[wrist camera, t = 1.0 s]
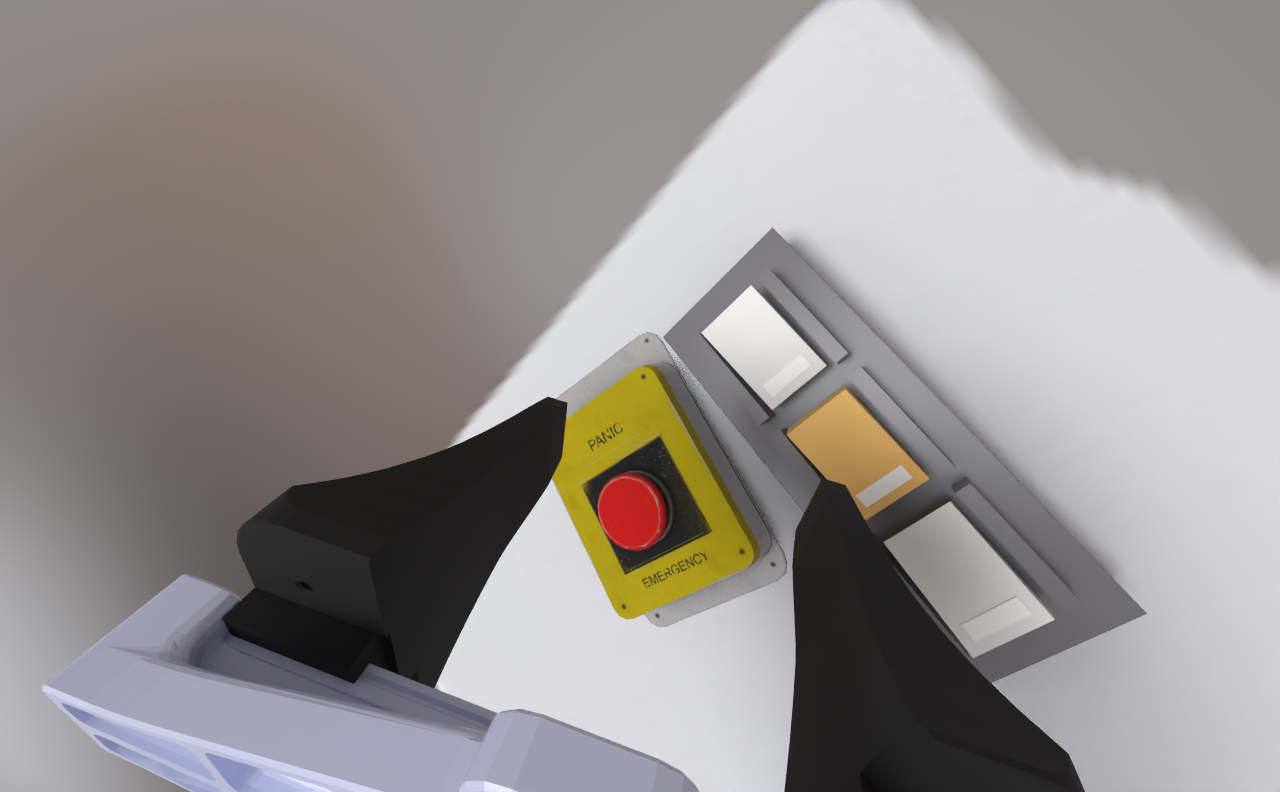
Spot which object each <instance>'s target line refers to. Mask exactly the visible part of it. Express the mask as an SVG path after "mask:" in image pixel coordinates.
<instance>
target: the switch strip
mask: <svg viewBox="0 0 1280 792" xmlns="http://www.w3.org/2000/svg"><path fill="white" fill-rule="evenodd" d="M751 285H754V286H755V287H756V288H757V289H758V290H759V291H760V292H761V293H762V294H763V296H764V297H765V298H766V299H767V300H768V301H769V302H770V303H771V304H772V305H773V306H774V307H775V308H776V309H777V310H778V311H779V312H780V314H781V315H782V316H783V317H784V318H785V319H786V320H787V321H788V322H789V323H790V324H791V325H792V326H793V327H794V328H795V329H796V331H797V332H798V333H799V334H800V335H801V336H802V337H803V338H804V339H805V340H806V341H807V342H808V343H809V344H810V345H811V346H812V347H813V349H814V350H815V351H816V352H817V353H818V354H819V355H820V356H821V357H822V358H823V359H824V360H825V361H826V362H827V366H826V367H824V368H823V369H822V370H821V371H819V372H818V373H817V374H816V375H815V376H813V377H812V378H811V379H810V380H808V381H807V382H806V383H805V384H804V385H802V386H801V387H800V388H799V389H797V390H796V391H795V392H794V393H793V394H791V395H790V396H789V397H788V398H786V399H785V400H784V401H783V402H782V403H780V404H779V405H778V406H777V407H775V408H774V409H773V410H772V409H771V408H770V407H769V406H768V405H767V404H766V403H765V402H764V401H763V399H762V398H761V397H760V396H759V395H758V394H757V393H756V392H755V391H754V390H753V389H752V387H751V386H750V385H749V384H748V383H747V382H746V381H745V380H744V379H743V378H742V377H741V376H740V374H739V373H738V372H737V371H736V370H735V369H734V368H733V367H732V366H731V365H730V364H729V362H728V361H727V360H726V359H725V358H724V357H723V356H722V355H721V354H720V353H719V352H718V350H717V349H716V348H715V347H714V346H713V345H712V344H711V343H710V342H709V341H708V340H707V338H706V337H705V336H704V335H703V334H702V332H703V331H704V330H705V329H706V328H707V327H708V326H709V325H710V324H711V323H712V322H713V321H714V320H715V319H716V318H717V317H718V316H719V315H720V314H721V313H722V312H724V311H725V310H726V309H727V308H728V307H729V306H730V305H731V304H732V303H733V302H734V301H735V300H736V299H737V298H738V297H739V296H740V295H741V294H742V293H743V292H744V291H745V290H746V289H747V288H748V287H749V286H751ZM664 339H665V340H666V341H667V342H668V344H669V345H670V346H671V347H672V349H673V350H674V351H675V352H676V354H677V355H678V356H679V357H680V359H681V360H682V361H683V362H684V364H685V365H686V366H687V367H688V369H689V370H690V371H691V372H692V373H693V375H694V376H695V377H696V378H697V380H698V381H699V382H700V383H701V385H702V386H703V387H704V388H705V390H706V391H707V392H708V393H709V395H710V396H711V397H712V398H713V400H714V401H715V402H716V403H717V405H718V406H719V407H720V408H721V410H722V411H723V412H724V413H725V415H726V416H727V417H728V418H729V420H730V421H731V422H732V423H733V425H734V426H735V427H736V428H737V430H738V431H739V432H740V433H741V435H742V436H743V437H744V438H745V440H746V441H747V442H748V443H749V444H750V446H751V447H752V448H753V449H754V451H755V452H756V453H757V454H758V456H759V457H760V458H761V459H762V461H763V462H764V463H765V464H766V466H767V467H768V468H769V469H770V471H771V472H772V473H773V474H774V476H775V477H776V478H777V479H778V481H779V482H780V483H781V484H782V486H783V487H784V488H785V489H786V491H787V492H788V493H789V494H790V496H791V497H792V498H793V499H794V501H795V502H796V503H797V504H798V506H799V507H800V508H801V509H802V510H803V512H804V513H805V511H806V509H807V507H808V505H809V503H810V501H811V499H812V497H813V495H814V493H815V491H816V489H817V487H818V485H819V483H820V481H821V479H822V478H824V479H827V478H826V477H825V476H824V475H823V474H822V473H821V472H820V471H819V470H818V469H817V468H816V466H815V465H814V464H813V463H812V462H811V461H810V460H809V459H808V458H807V457H806V456H805V454H804V453H803V452H802V451H801V450H800V449H799V448H798V447H797V446H796V445H795V444H794V442H793V441H792V440H791V439H790V438H789V437H788V436H787V431H788V428H790V427H791V426H792V425H793V424H795V423H796V422H797V421H798V420H800V419H801V418H802V417H804V416H805V415H806V414H807V413H809V412H810V411H811V410H812V409H814V408H815V407H816V406H818V405H819V404H820V403H821V402H823V401H824V400H825V399H826V398H828V397H829V396H830V395H832V394H833V393H834V392H835V391H837V390H838V389H839V388H840V387H842V386H843V385H845V386H846V387H847V388H848V389H849V390H850V391H851V392H852V393H853V394H854V395H855V397H856V398H857V399H858V400H859V401H860V402H861V403H862V404H863V405H864V406H865V407H866V408H867V409H868V410H869V411H870V412H871V414H872V415H873V416H874V417H875V418H876V419H877V420H878V421H879V422H880V423H881V424H882V425H883V426H884V427H885V428H886V429H887V431H888V432H889V433H890V434H891V435H892V436H893V437H894V438H895V439H896V440H897V441H898V442H899V443H900V444H901V445H902V446H903V447H904V449H905V450H906V451H907V452H908V453H909V454H910V455H911V456H912V457H913V458H914V459H915V460H916V461H917V462H918V463H919V464H920V466H921V467H922V468H923V469H924V470H925V471H926V473H927V475H928V477H929V478H930V479H929V480H927V481H926V482H924V483H923V484H921V485H919V486H918V487H916V488H915V489H913V490H912V491H910V492H909V493H907V494H906V495H904V496H902V497H901V498H899V499H898V500H896V501H895V502H893V503H892V504H890V505H888V506H887V507H885V508H884V509H882V510H881V511H879V512H878V513H876V514H875V515H873V516H871V517H870V518H868V519H867V520H865V521H866V523H867V525H868V526H869V528H870V530H871V531H872V533H873V535H874V536H875V538H876V540H877V541H878V543H879V545H880V546H881V548H882V550H883V551H884V553H885V554H886V556H887V558H888V559H889V561H890V562H891V564H892V565H893V567H894V568H895V570H896V571H897V573H898V574H899V576H900V577H901V578H902V580H903V581H904V583H905V584H906V586H907V587H908V588H909V590H910V591H911V593H912V594H913V595H914V597H915V598H916V599H917V600H918V602H919V603H920V604H921V606H922V607H923V608H924V609H925V611H926V612H927V613H928V614H929V616H930V617H931V618H932V619H933V621H934V622H935V623H936V624H937V626H938V627H939V628H940V629H941V630H942V631H943V633H944V634H945V635H946V636H947V637H948V638H949V639H950V641H951V642H952V643H953V644H954V645H955V646H956V647H957V648H958V649H959V650H960V652H961V653H962V654H963V655H964V656H965V657H966V658H967V659H968V660H969V661H970V662H971V664H972V665H973V666H974V667H975V668H976V669H977V670H978V671H979V672H980V673H981V674H982V675H983V676H984V677H985V678H986V679H987V680H988V681H989V682H990V683H992V682H994V681H996V680H999V679H1001V678H1003V677H1005V676H1008V675H1010V674H1012V673H1014V672H1017V671H1019V670H1021V669H1023V668H1026V667H1028V666H1030V665H1032V664H1035V663H1037V662H1039V661H1041V660H1044V659H1046V658H1048V657H1050V656H1053V655H1055V654H1057V653H1059V652H1062V651H1064V650H1066V649H1068V648H1071V647H1073V646H1075V645H1077V644H1080V643H1082V642H1084V641H1086V640H1089V639H1091V638H1093V637H1095V636H1098V635H1100V634H1102V633H1104V632H1107V631H1109V630H1111V629H1113V628H1116V627H1118V626H1120V625H1122V624H1125V623H1127V622H1129V621H1131V620H1133V619H1136V618H1138V617H1140V616H1142V615H1145V614H1147V613H1146V612H1145V611H1144V610H1143V609H1142V608H1141V607H1140V606H1139V605H1138V604H1137V603H1136V602H1135V601H1134V600H1133V599H1132V598H1131V597H1130V596H1129V595H1128V594H1127V592H1126V591H1125V590H1124V589H1123V588H1122V587H1121V586H1120V585H1119V584H1118V583H1117V582H1116V581H1115V580H1114V579H1113V578H1112V577H1111V576H1110V575H1109V574H1108V573H1107V572H1106V571H1105V570H1104V569H1103V568H1102V567H1101V566H1100V565H1099V564H1098V563H1097V562H1096V561H1095V560H1094V558H1093V557H1092V556H1091V555H1090V554H1089V553H1088V552H1087V551H1086V550H1085V549H1084V548H1083V547H1082V546H1081V545H1080V544H1079V543H1078V542H1077V541H1076V540H1075V539H1074V538H1073V537H1072V536H1071V535H1070V534H1069V533H1068V532H1067V531H1066V530H1065V529H1064V528H1063V527H1062V526H1061V524H1060V523H1059V522H1058V521H1057V520H1056V519H1055V518H1054V517H1053V516H1052V515H1051V514H1050V513H1049V512H1048V511H1047V510H1046V509H1045V508H1044V507H1043V506H1042V505H1041V504H1040V503H1039V502H1038V501H1037V500H1036V499H1035V498H1034V497H1033V496H1032V495H1031V494H1030V493H1029V492H1028V490H1027V489H1026V488H1025V487H1024V486H1023V485H1022V484H1021V483H1020V482H1019V481H1018V480H1017V479H1016V478H1015V477H1014V476H1013V475H1012V474H1011V473H1010V472H1009V471H1008V470H1007V469H1006V468H1005V467H1004V466H1003V465H1002V464H1001V463H1000V462H999V461H998V460H997V459H996V457H995V456H994V455H993V454H992V453H991V452H990V451H989V450H988V449H987V448H986V447H985V446H984V445H983V444H982V443H981V442H980V441H979V440H978V439H977V438H976V437H975V436H974V435H973V434H972V433H971V432H970V431H969V430H968V429H967V428H966V427H965V426H964V425H963V423H962V422H961V421H960V420H959V419H958V418H957V417H956V416H955V415H954V414H953V413H952V412H951V411H950V410H949V409H948V408H947V407H946V406H945V405H944V404H943V403H942V402H941V401H940V400H939V399H938V398H937V397H936V396H935V395H934V394H933V393H932V392H931V391H930V389H929V388H928V387H927V386H926V385H925V384H924V383H923V382H922V381H921V380H920V379H919V378H918V377H917V376H916V375H915V374H914V373H913V372H912V371H911V370H910V369H909V368H908V367H907V366H906V365H905V364H904V363H903V362H902V361H901V360H900V359H899V358H898V357H897V355H896V354H895V353H894V352H893V351H892V350H891V349H890V348H889V347H888V346H887V345H886V344H885V343H884V342H883V341H882V340H881V339H880V338H879V337H878V336H877V335H876V334H875V333H874V332H873V331H872V330H871V329H870V328H869V327H868V326H867V325H866V324H865V323H864V321H863V320H862V319H861V318H860V317H859V316H858V315H857V314H856V313H855V312H854V311H853V310H852V309H851V308H850V307H849V306H848V305H847V304H846V303H845V302H844V301H843V300H842V299H841V298H840V297H839V296H838V295H837V294H836V293H835V292H834V291H833V290H832V289H831V287H830V286H829V285H828V284H827V283H826V282H825V281H824V280H823V279H822V278H821V277H820V276H819V275H818V274H817V273H816V272H815V271H814V270H813V269H812V268H811V267H810V266H809V265H808V264H807V263H806V262H805V261H804V260H803V259H802V258H801V257H800V256H799V255H798V253H797V252H796V251H795V250H794V249H793V248H792V247H791V246H790V245H789V244H788V243H787V242H786V241H785V240H784V239H783V238H782V237H781V236H780V235H779V234H778V233H777V232H776V231H775V230H774V229H773V228H772V229H771V230H770V231H769V232H768V233H767V234H766V235H765V236H764V237H763V238H762V239H761V240H760V241H759V242H758V243H757V244H756V245H755V246H754V247H753V248H752V249H751V250H750V251H749V252H748V253H747V254H746V255H745V256H744V257H743V258H742V259H741V260H740V261H739V262H738V263H737V264H736V265H735V266H734V267H733V268H732V269H731V270H730V271H729V272H728V273H727V274H726V275H725V276H724V277H723V278H722V279H721V280H720V281H719V282H718V283H717V284H716V285H715V286H714V287H713V288H712V289H711V290H710V291H709V292H708V293H707V294H706V295H705V296H704V297H703V298H702V299H701V300H700V301H699V302H698V303H697V304H696V305H695V306H694V307H693V308H692V309H691V310H690V311H689V312H688V313H687V314H686V315H685V316H684V317H683V318H682V319H681V320H680V321H679V322H678V323H677V324H676V325H675V326H674V327H673V328H672V329H671V330H670V331H669V332H668V333H667V334H666V335H665V336H664ZM952 500H953V502H954V503H955V504H956V505H957V506H958V507H959V508H960V510H961V511H962V512H963V513H964V514H965V515H966V516H967V517H968V519H969V520H970V521H971V522H972V523H973V524H974V525H975V526H976V528H977V529H978V530H979V531H980V532H981V533H982V534H983V536H984V537H985V538H986V539H987V540H988V541H989V542H990V543H991V545H992V546H993V547H994V548H995V549H996V550H997V551H998V552H999V554H1000V555H1001V556H1002V557H1003V558H1004V559H1005V560H1006V561H1007V563H1008V564H1009V565H1010V566H1011V567H1012V568H1013V569H1014V571H1015V572H1016V573H1017V574H1018V575H1019V576H1020V577H1021V578H1022V580H1023V581H1024V582H1025V583H1026V584H1027V585H1028V586H1029V587H1030V589H1031V590H1032V591H1033V592H1034V593H1035V594H1036V595H1037V597H1038V598H1039V599H1040V600H1041V601H1042V602H1043V603H1044V604H1045V606H1046V607H1047V608H1048V609H1049V610H1050V611H1051V612H1052V614H1053V617H1054V619H1055V620H1053V621H1051V622H1049V623H1047V624H1045V625H1043V626H1040V627H1038V628H1036V629H1034V630H1032V631H1030V632H1028V633H1026V634H1023V635H1021V636H1019V637H1017V638H1015V639H1013V640H1011V641H1009V642H1007V643H1004V644H1002V645H1000V646H998V647H996V648H994V649H992V650H990V651H987V652H985V653H983V654H981V655H979V656H977V657H975V658H973V657H972V656H971V655H970V654H969V652H968V651H967V650H966V648H965V647H964V646H963V645H962V643H961V642H960V641H959V639H958V638H957V637H956V635H955V634H954V633H953V632H952V630H951V629H950V628H949V626H948V625H947V624H946V623H945V621H944V620H943V619H942V617H941V616H940V615H939V614H938V612H937V611H936V610H935V608H934V607H933V606H932V604H931V603H930V602H929V601H928V599H927V598H926V597H925V595H924V594H923V593H922V592H921V590H920V589H919V588H918V586H917V585H916V584H915V583H914V581H913V580H912V579H911V577H910V576H909V575H908V574H907V572H906V571H905V570H904V568H903V567H902V566H901V564H900V563H899V562H898V561H897V559H896V558H895V557H894V555H893V554H892V553H891V552H890V550H889V549H888V548H887V546H886V545H885V544H884V543H883V542H885V541H886V540H888V539H890V538H891V537H893V536H895V535H896V534H898V533H899V532H901V531H903V530H904V529H906V528H908V527H909V526H911V525H912V524H914V523H916V522H917V521H919V520H921V519H922V518H924V517H925V516H927V515H929V514H930V513H932V512H934V511H935V510H937V509H938V508H940V507H942V506H943V505H945V504H947V503H948V502H950V501H952Z"/></svg>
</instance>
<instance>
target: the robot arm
mask: <svg viewBox="0 0 1280 792" xmlns="http://www.w3.org/2000/svg"><path fill="white" fill-rule="evenodd" d="M567 404H568V403H567V402H564V401H561V400H557V399H554V398H550V397H546V398H545V399H543V400H541V401H539V402H537V403H535V404H534V405H532V406H530V407H528V408H527V409H525V410H523V411H522V412H520V413H518V414H516V415H515V416H513V417H511V418H509V419H507V420H506V421H504V422H502V423H500V424H498V425H496V426H494V427H493V428H491V429H489V430H487V431H485V432H483V433H481V434H479V435H476V436H474V437H472V438H470V439H468V440H466V441H464V442H462V443H459V444H457V445H455V446H452V447H450V448H447V449H445V450H442V451H440V452H437V453H434V454H432V455H429V456H426V457H423V458H420V459H416V460H413V461H410V462H407V463H403V464H400V465H397V466H394V467H390V468H387V469H383V470H378V471H374V472H370V473H366V474H361V475H356V476H352V477H347V478H341V479H336V480H329V481H323V482H317V483H310V484H304V485H297V486H292V487H291V488H289V489H288V490H287V491H285V492H284V493H283V494H281V495H280V496H279V497H277V498H276V499H275V500H274V501H272V502H271V503H270V504H269V505H267V506H266V507H265V508H263V509H262V510H261V511H260V512H258V513H257V514H256V515H255V516H253V517H252V518H251V519H250V520H248V521H247V522H246V523H244V524H243V525H242V526H241V527H240V529H239V530H238V535H237V545H238V548H239V552H240V554H241V557H242V559H243V561H244V563H245V566H246V568H247V570H248V572H249V574H250V577H251V579H252V581H253V583H254V586H255V589H253V590H252V591H251V592H250V593H249V594H248V595H247V596H245V597H244V598H243V599H241V598H240V597H239V596H238V595H236V594H235V593H234V592H232V591H230V590H228V589H226V588H224V587H222V586H219V585H216V584H214V583H211V582H208V581H206V580H203V579H201V578H198V577H195V576H193V575H190V574H184V575H182V576H180V577H179V578H178V579H177V580H175V581H174V582H173V583H172V584H170V585H169V586H168V587H167V588H165V589H164V590H163V591H161V592H160V593H159V594H158V595H157V596H155V597H154V598H153V599H151V600H150V601H149V602H148V603H146V604H145V605H144V606H142V607H141V608H140V609H139V610H137V611H136V612H135V613H134V614H132V615H131V616H130V617H129V618H127V619H126V620H125V621H123V622H122V623H121V624H120V625H118V627H116V628H115V629H113V630H112V631H111V632H109V633H108V634H107V635H106V636H104V637H103V638H102V639H101V640H99V641H98V642H97V643H96V644H94V645H93V646H92V647H90V648H89V649H88V650H87V651H85V652H84V653H83V654H82V655H80V656H79V657H78V658H77V659H75V660H74V661H73V662H71V663H70V664H69V665H68V666H66V667H65V668H64V669H63V670H61V671H60V672H59V673H58V674H56V675H55V676H54V677H52V678H51V679H50V680H49V681H47V682H46V683H45V684H44V685H43V688H42V691H43V693H45V694H46V695H47V696H48V697H49V698H50V699H51V700H52V701H53V702H54V703H55V704H56V705H57V706H58V707H59V708H60V709H62V710H63V711H64V712H65V713H66V714H67V715H68V716H69V717H70V718H71V719H72V720H73V721H74V722H75V723H76V724H77V725H78V726H79V727H80V728H82V729H83V730H84V731H85V732H86V733H87V734H88V735H89V736H90V737H91V738H92V739H93V740H94V741H95V742H96V743H97V744H98V745H100V746H101V747H102V748H103V749H104V750H105V751H107V752H110V753H112V754H114V755H116V756H119V757H121V758H123V759H125V760H127V761H129V762H131V763H133V764H136V765H138V766H140V767H142V768H144V769H146V770H148V771H150V772H153V773H154V774H157V775H158V776H160V777H162V778H165V779H167V780H169V781H171V782H173V783H175V784H177V785H179V786H181V787H183V788H185V789H186V790H189V791H191V792H699V791H698V789H697V787H696V786H695V784H694V783H693V782H692V781H691V780H690V779H689V778H688V777H687V776H686V775H685V774H684V773H683V772H682V771H680V770H678V769H676V768H675V767H673V766H671V765H669V764H667V763H665V762H663V761H661V760H659V759H657V758H655V757H652V756H649V755H647V754H644V753H642V752H639V751H636V750H634V749H631V748H629V747H626V746H623V745H621V744H618V743H616V742H613V741H610V740H608V739H605V738H603V737H600V736H597V735H595V734H592V733H590V732H587V731H584V730H582V729H579V728H577V727H574V726H571V725H569V724H566V723H564V722H561V721H559V720H556V719H553V718H551V717H548V716H546V715H543V714H539V713H535V712H531V711H527V710H523V709H516V710H507V711H502V712H500V713H495V712H493V711H490V710H488V709H485V708H483V707H480V706H478V705H475V704H472V703H470V702H467V701H465V700H462V699H460V698H457V697H454V696H452V695H449V694H447V693H444V692H442V691H439V690H437V689H434V688H435V686H436V683H437V681H438V679H439V677H440V675H441V673H442V670H443V668H444V666H445V664H446V662H447V660H448V658H449V655H450V653H451V651H452V649H453V647H454V645H455V643H456V641H457V639H458V637H459V635H460V633H461V631H462V629H463V627H464V625H465V623H466V621H467V619H468V617H469V615H470V613H471V611H472V609H473V607H474V605H475V603H476V601H477V599H478V597H479V595H480V594H481V592H482V590H483V588H484V586H485V584H486V582H487V580H488V578H489V577H490V575H491V573H492V571H493V569H494V567H495V565H496V564H497V562H498V560H499V558H500V557H501V555H502V553H503V552H504V550H505V548H506V547H507V545H508V544H509V542H510V541H511V539H512V538H513V536H514V535H515V533H516V532H517V531H518V529H519V528H520V526H521V525H522V523H523V522H524V520H525V519H526V517H527V516H528V514H529V513H530V512H531V510H532V509H533V507H534V506H535V504H536V503H537V501H538V500H539V498H540V497H541V495H542V494H543V492H544V491H545V489H546V488H547V486H548V484H549V482H550V481H551V479H552V477H553V475H554V473H555V471H556V469H557V467H558V465H559V463H560V460H561V458H562V454H563V444H564V434H565V424H566V414H567ZM793 592H794V615H795V638H796V665H795V680H794V696H793V709H792V721H791V734H790V744H789V754H788V764H787V774H786V784H785V792H1085V791H1084V789H1083V786H1082V784H1081V781H1080V779H1079V777H1078V774H1077V772H1076V770H1075V767H1074V765H1073V763H1072V761H1071V759H1070V757H1069V754H1068V753H1067V752H1066V751H1065V750H1064V749H1062V748H1061V747H1060V746H1059V745H1058V744H1057V743H1056V742H1054V741H1053V740H1052V739H1051V738H1050V737H1049V736H1048V735H1046V734H1045V733H1044V732H1043V731H1042V730H1041V729H1040V728H1039V727H1037V726H1036V725H1035V724H1034V723H1033V722H1032V721H1031V720H1029V719H1028V718H1027V717H1026V716H1025V715H1024V714H1023V713H1022V712H1020V711H1019V710H1018V709H1017V708H1016V707H1015V706H1014V705H1013V704H1012V703H1011V702H1010V701H1009V700H1008V699H1007V698H1006V697H1005V696H1004V695H1002V694H1001V693H1000V692H999V691H998V690H997V689H996V688H995V687H994V686H993V685H992V684H991V683H990V682H989V681H988V680H987V679H986V678H985V677H984V676H983V675H982V674H981V673H980V672H979V671H978V670H977V669H976V668H975V667H974V666H973V665H972V664H971V662H970V661H969V660H968V659H967V658H966V657H965V656H964V655H963V654H962V653H961V652H960V650H959V649H958V648H957V647H956V646H955V645H954V644H953V643H952V642H951V641H950V639H949V638H948V637H947V636H946V635H945V634H944V633H943V631H942V630H941V629H940V628H939V627H938V626H937V624H936V623H935V622H934V621H933V619H932V618H931V617H930V616H929V614H928V613H927V612H926V611H925V609H924V608H923V607H922V606H921V604H920V603H919V602H918V600H917V599H916V598H915V597H914V595H913V594H912V593H911V591H910V590H909V588H908V587H907V586H906V584H905V583H904V581H903V580H902V578H901V577H900V576H899V574H898V573H897V571H896V570H895V568H894V567H893V565H892V564H891V562H890V561H889V559H888V558H887V556H886V554H885V553H884V551H883V550H882V548H881V546H880V545H879V543H878V541H877V540H876V538H875V536H874V535H873V533H872V531H871V530H870V528H869V526H868V525H867V523H866V521H865V519H864V517H863V516H862V514H861V512H860V510H859V508H858V507H857V505H856V503H855V501H854V499H853V498H852V496H851V494H850V492H849V490H848V489H847V487H846V485H844V484H840V483H837V482H834V481H830V480H827V479H824V478H822V479H821V481H820V483H819V485H818V487H817V489H816V491H815V493H814V495H813V497H812V499H811V501H810V503H809V505H808V507H807V509H806V511H805V513H804V515H803V517H802V519H801V521H800V523H799V525H798V527H797V529H796V533H795V542H794V553H793Z"/></svg>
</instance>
